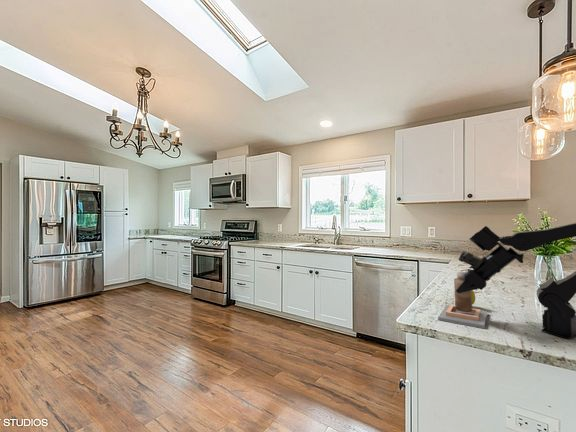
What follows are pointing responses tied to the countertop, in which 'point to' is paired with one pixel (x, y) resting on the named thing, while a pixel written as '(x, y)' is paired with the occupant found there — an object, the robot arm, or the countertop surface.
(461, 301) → the pepper mill
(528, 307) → the countertop surface
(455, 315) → the display stand
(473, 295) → the lemon
